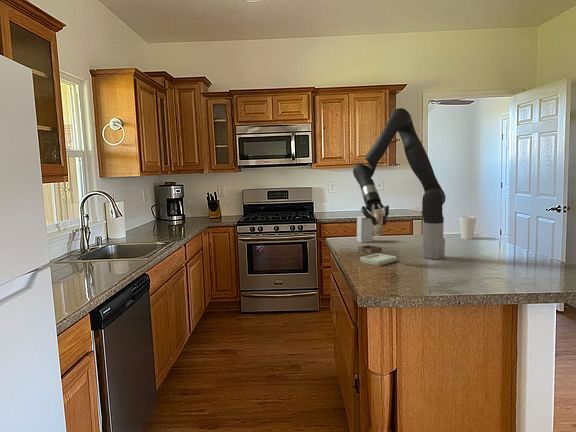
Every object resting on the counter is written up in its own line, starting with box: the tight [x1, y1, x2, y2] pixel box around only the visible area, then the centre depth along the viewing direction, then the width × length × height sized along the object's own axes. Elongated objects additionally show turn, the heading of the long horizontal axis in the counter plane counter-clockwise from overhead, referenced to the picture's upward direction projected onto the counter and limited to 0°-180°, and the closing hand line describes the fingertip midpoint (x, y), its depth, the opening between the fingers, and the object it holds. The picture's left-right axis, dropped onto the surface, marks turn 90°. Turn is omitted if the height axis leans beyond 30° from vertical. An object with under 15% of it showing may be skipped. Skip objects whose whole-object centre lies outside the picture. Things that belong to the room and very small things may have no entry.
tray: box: [359, 253, 398, 267], centre depth 191 cm, size 11×13×2 cm
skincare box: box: [356, 216, 374, 243], centre depth 240 cm, size 8×6×15 cm
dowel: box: [373, 209, 384, 237], centre depth 189 cm, size 4×4×12 cm
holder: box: [358, 244, 383, 256], centre depth 207 cm, size 8×8×4 cm
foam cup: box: [458, 215, 477, 240], centre depth 244 cm, size 10×9×13 cm
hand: (380, 224), depth 187 cm, fingers closed on dowel, 4 cm apart
